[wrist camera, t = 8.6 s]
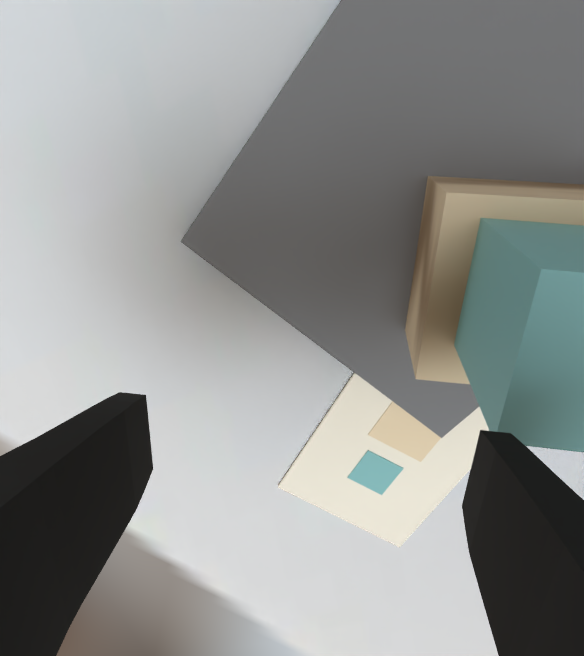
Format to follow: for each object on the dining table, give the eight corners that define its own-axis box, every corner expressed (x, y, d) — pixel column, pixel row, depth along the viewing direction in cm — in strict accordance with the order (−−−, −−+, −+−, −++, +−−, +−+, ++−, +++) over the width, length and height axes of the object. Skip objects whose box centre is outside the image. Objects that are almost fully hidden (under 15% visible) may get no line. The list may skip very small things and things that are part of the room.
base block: (427, 175, 17) (446, 192, 14) (606, 185, 17) (676, 205, 13) (405, 330, 20) (415, 379, 16) (559, 343, 19) (607, 397, 15)
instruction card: (385, 326, 20) (385, 328, 20) (527, 402, 21) (529, 405, 20) (278, 484, 24) (277, 488, 24) (399, 544, 25) (399, 548, 25)
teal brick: (480, 217, 14) (541, 269, 9) (630, 228, 13) (771, 288, 9) (453, 345, 15) (493, 441, 11) (586, 357, 15) (685, 464, 10)
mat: (604, -391, 12) (611, -407, 11) (939, 8, 14) (955, 5, 14) (183, 239, 20) (180, 241, 19) (440, 432, 22) (441, 438, 21)
